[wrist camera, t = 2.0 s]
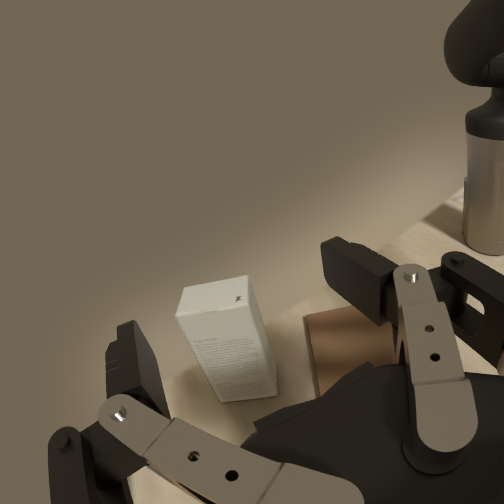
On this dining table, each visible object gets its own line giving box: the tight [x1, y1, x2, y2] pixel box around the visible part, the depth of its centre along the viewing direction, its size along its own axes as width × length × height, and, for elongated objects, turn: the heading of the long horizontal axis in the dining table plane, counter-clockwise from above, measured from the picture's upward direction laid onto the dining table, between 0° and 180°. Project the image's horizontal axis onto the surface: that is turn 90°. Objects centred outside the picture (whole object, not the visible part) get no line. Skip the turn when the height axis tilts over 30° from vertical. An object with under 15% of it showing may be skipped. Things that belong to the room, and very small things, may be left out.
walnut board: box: [306, 305, 394, 397], centre depth 28 cm, size 18×12×1 cm, turn 179°
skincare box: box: [175, 275, 278, 402], centre depth 28 cm, size 6×4×12 cm
